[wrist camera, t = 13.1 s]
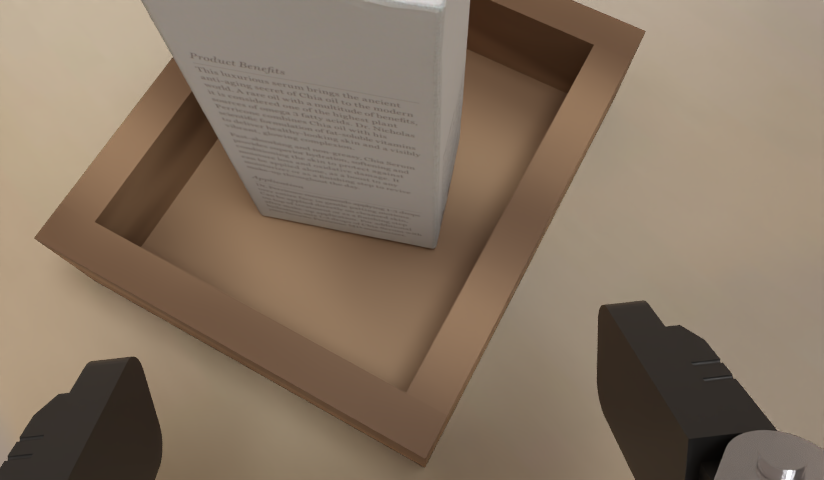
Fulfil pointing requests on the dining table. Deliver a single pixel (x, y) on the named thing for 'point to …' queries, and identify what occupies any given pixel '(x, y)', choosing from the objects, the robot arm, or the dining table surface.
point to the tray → (348, 252)
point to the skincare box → (331, 104)
